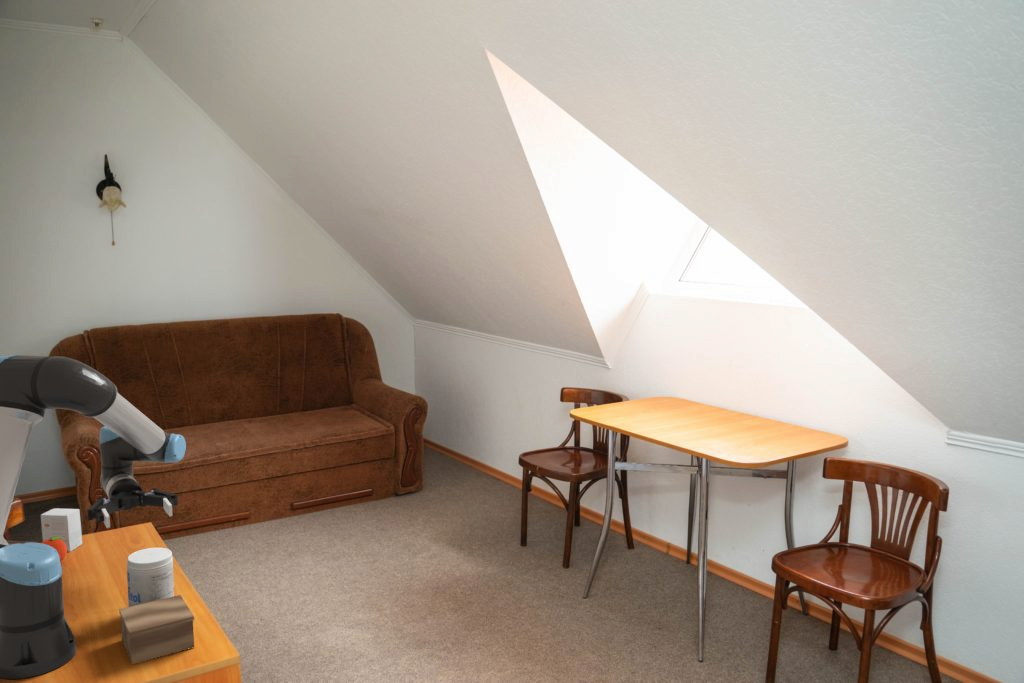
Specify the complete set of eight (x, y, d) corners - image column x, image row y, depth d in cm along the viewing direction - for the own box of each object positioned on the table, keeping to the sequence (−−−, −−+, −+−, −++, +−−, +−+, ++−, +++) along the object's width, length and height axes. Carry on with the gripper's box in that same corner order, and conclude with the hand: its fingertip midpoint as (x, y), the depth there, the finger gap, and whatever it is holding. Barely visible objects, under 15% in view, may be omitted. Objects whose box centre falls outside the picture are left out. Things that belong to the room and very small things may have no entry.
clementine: (62, 555, 216) (61, 530, 215) (77, 561, 212) (75, 535, 211) (32, 565, 209) (30, 539, 208) (46, 571, 206) (44, 545, 205)
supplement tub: (120, 620, 180) (116, 558, 178) (156, 603, 188) (152, 543, 186) (148, 629, 175) (145, 566, 173) (184, 612, 183) (181, 551, 182)
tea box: (195, 647, 168) (193, 616, 167) (131, 665, 160) (129, 632, 160) (181, 624, 178) (180, 594, 177) (121, 640, 171) (119, 609, 170)
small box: (82, 544, 224) (80, 508, 222) (70, 552, 218) (67, 515, 217) (56, 543, 224) (53, 507, 223) (42, 551, 219) (40, 514, 218)
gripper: (176, 497, 212) (196, 521, 195) (70, 515, 198) (81, 543, 180) (174, 470, 211) (194, 491, 194) (68, 486, 197) (79, 511, 179)
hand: (140, 516), depth 187 cm, fingers open, 13 cm apart
